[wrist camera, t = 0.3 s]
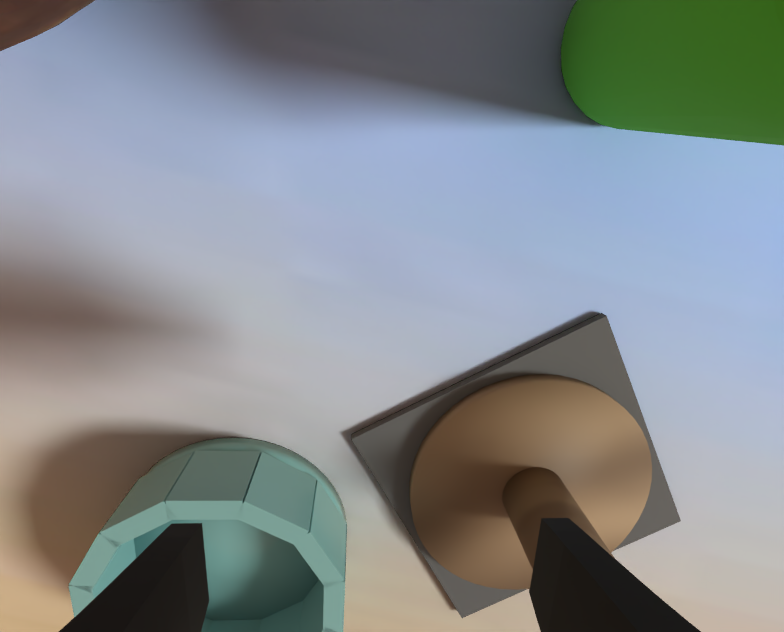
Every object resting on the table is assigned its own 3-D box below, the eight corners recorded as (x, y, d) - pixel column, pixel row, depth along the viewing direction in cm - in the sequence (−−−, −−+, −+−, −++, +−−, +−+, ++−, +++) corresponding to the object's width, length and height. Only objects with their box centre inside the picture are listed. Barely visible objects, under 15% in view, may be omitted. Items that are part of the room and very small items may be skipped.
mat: (675, 515, 22) (680, 520, 22) (460, 611, 23) (462, 618, 23) (601, 313, 19) (606, 315, 18) (351, 434, 20) (351, 439, 19)
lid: (668, 517, 22) (759, 616, 17) (466, 607, 23) (497, 726, 18) (598, 330, 19) (685, 385, 14) (366, 442, 19) (369, 532, 14)
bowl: (382, 561, 22) (388, 641, 18) (207, 641, 23) (176, 735, 19) (276, 400, 19) (256, 455, 15) (79, 498, 20) (12, 575, 16)
